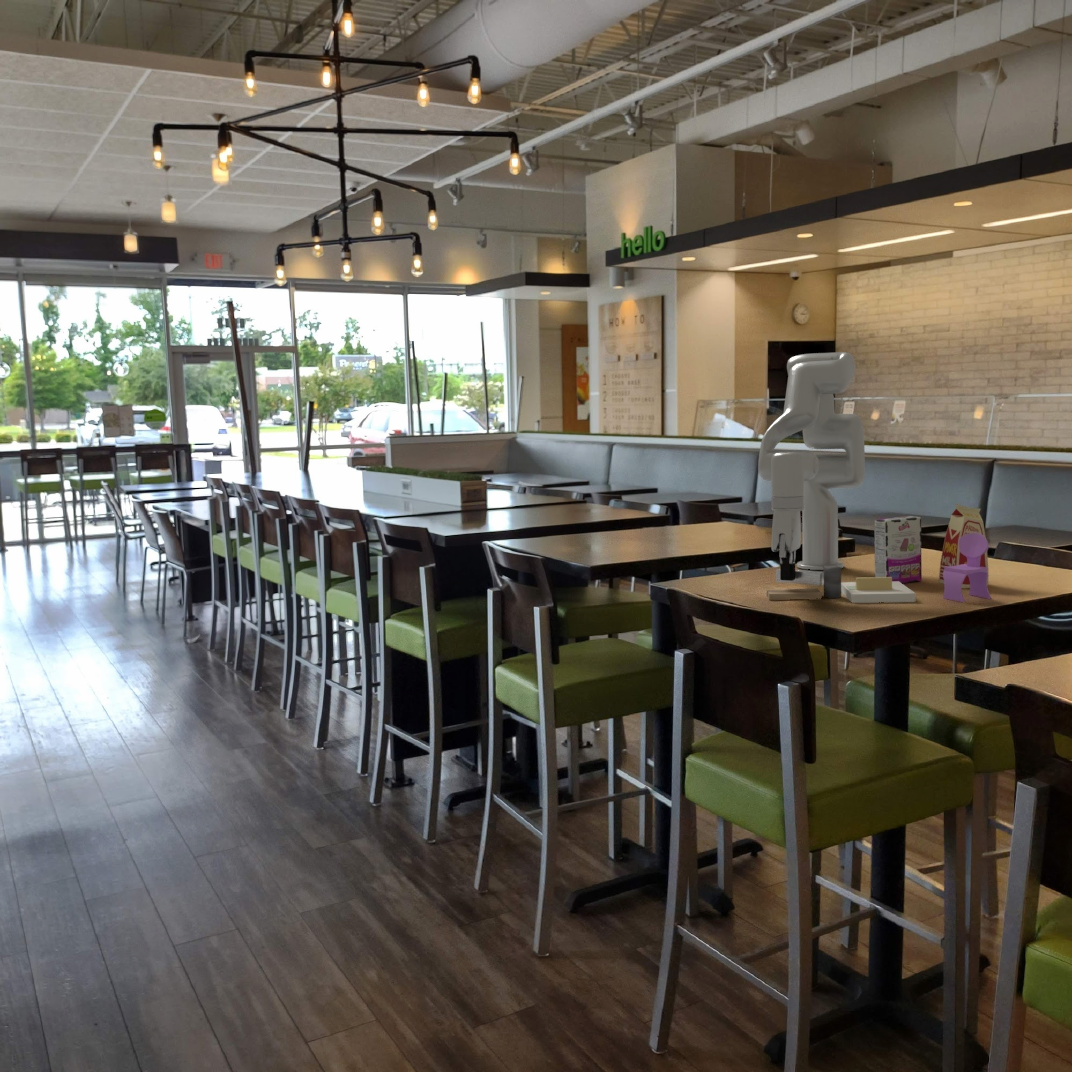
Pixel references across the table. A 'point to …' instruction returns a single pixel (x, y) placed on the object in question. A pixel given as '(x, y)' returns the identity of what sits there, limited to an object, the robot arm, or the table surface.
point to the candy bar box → (898, 548)
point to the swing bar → (804, 577)
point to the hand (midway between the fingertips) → (787, 579)
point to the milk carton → (959, 526)
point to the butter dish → (876, 590)
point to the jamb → (830, 589)
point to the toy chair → (968, 569)
